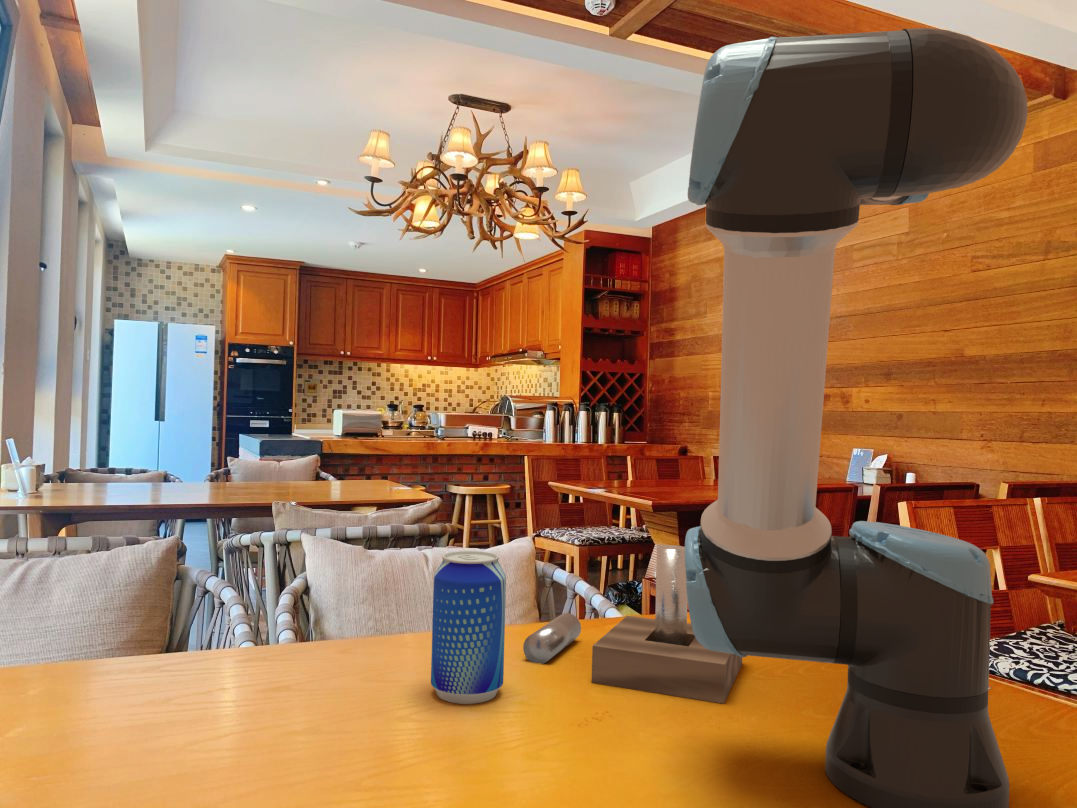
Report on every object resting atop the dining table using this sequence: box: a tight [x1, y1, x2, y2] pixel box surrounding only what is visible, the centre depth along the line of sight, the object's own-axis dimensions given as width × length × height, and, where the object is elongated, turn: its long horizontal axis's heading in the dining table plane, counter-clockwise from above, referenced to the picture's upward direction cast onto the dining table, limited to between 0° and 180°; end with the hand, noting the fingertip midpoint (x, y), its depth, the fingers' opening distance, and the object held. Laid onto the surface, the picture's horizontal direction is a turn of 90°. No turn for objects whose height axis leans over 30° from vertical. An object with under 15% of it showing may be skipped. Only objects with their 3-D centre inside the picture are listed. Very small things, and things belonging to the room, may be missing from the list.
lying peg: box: [522, 612, 582, 665], centre depth 111 cm, size 12×4×4 cm
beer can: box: [430, 550, 507, 705], centre depth 93 cm, size 8×8×16 cm
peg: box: [654, 544, 688, 646], centre depth 103 cm, size 4×4×16 cm
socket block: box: [591, 615, 743, 705], centre depth 103 cm, size 16×16×4 cm
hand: (757, 427), depth 108 cm, fingers open, 13 cm apart
